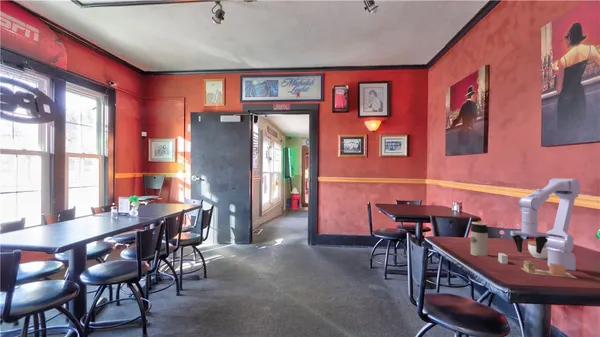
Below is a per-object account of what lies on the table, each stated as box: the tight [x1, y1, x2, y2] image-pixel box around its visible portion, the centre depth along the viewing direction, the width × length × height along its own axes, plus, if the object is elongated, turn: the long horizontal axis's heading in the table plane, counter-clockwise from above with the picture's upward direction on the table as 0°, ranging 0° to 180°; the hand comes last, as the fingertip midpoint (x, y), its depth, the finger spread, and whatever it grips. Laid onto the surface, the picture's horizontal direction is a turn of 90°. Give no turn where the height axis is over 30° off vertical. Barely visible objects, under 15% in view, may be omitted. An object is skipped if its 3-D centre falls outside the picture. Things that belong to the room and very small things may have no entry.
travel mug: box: [470, 221, 489, 258], centre depth 158 cm, size 8×8×18 cm
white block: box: [497, 252, 509, 265], centre depth 141 cm, size 18×7×5 cm, turn 72°
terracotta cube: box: [548, 263, 567, 277], centre depth 127 cm, size 4×4×4 cm
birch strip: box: [520, 259, 577, 279], centre depth 128 cm, size 18×7×5 cm, turn 72°
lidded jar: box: [527, 240, 548, 260], centre depth 157 cm, size 11×11×9 cm
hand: (529, 252), depth 131 cm, fingers open, 7 cm apart
